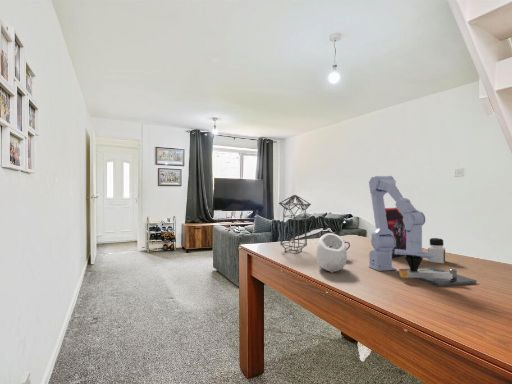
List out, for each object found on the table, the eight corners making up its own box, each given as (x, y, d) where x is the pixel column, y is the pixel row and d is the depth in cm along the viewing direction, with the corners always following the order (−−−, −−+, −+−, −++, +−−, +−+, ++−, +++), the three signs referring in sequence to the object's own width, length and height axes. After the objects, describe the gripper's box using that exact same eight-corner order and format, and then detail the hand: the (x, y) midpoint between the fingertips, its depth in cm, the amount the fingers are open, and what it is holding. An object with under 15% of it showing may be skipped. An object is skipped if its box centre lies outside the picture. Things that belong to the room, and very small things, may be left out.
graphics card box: (388, 258, 156) (388, 208, 156) (377, 256, 162) (377, 208, 162) (407, 255, 164) (407, 207, 164) (396, 253, 170) (396, 207, 170)
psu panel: (438, 286, 109) (438, 282, 109) (399, 271, 129) (399, 268, 129) (476, 283, 112) (476, 279, 112) (432, 269, 133) (432, 266, 133)
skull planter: (342, 258, 147) (344, 228, 138) (347, 288, 129) (350, 255, 121) (315, 257, 149) (315, 227, 140) (316, 286, 132) (317, 254, 123)
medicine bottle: (444, 263, 144) (444, 240, 144) (427, 261, 148) (427, 238, 148) (445, 261, 150) (445, 238, 150) (429, 259, 154) (429, 237, 154)
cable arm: (454, 278, 114) (454, 268, 114) (458, 280, 111) (458, 270, 111) (399, 276, 116) (399, 267, 117) (402, 278, 114) (402, 268, 114)
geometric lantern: (289, 248, 184) (290, 194, 184) (311, 252, 174) (312, 195, 174) (275, 252, 172) (276, 194, 172) (297, 256, 162) (299, 195, 162)
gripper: (436, 242, 115) (437, 275, 115) (399, 238, 125) (399, 268, 125) (431, 244, 110) (431, 279, 110) (392, 239, 120) (392, 272, 120)
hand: (414, 274), depth 117 cm, fingers closed
